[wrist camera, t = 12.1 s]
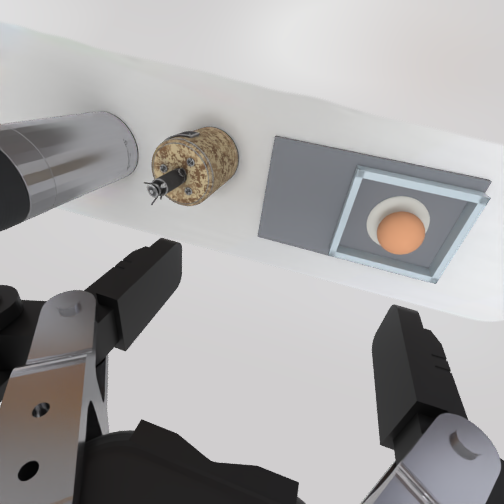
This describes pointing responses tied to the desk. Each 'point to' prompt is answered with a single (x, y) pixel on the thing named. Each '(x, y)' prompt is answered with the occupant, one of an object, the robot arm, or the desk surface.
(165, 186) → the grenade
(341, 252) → the square tray
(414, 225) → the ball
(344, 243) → the mat
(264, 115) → the desk surface
